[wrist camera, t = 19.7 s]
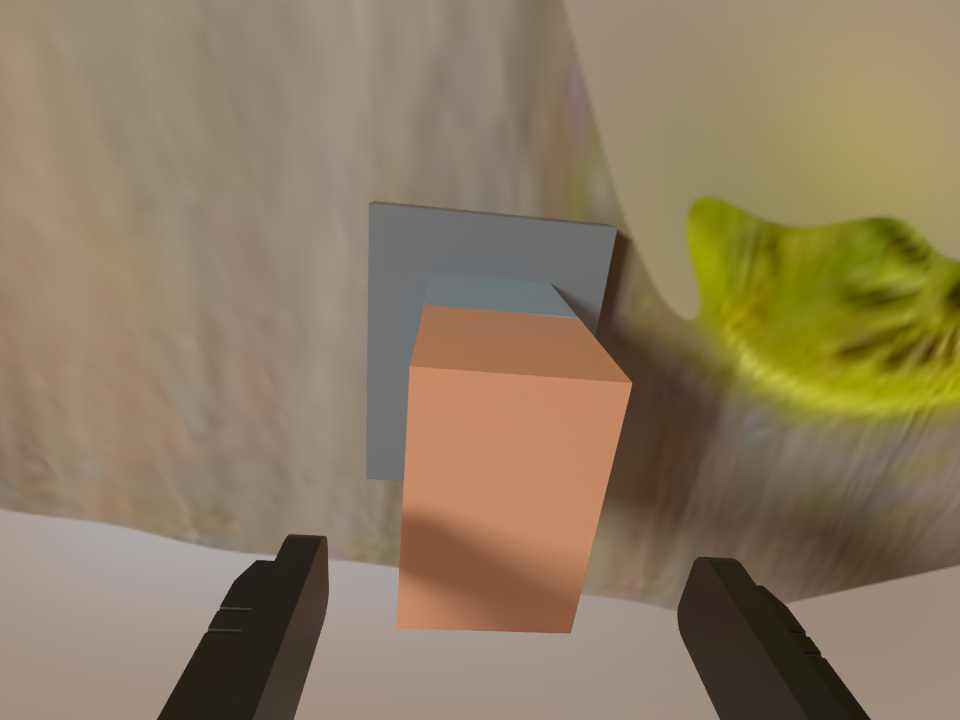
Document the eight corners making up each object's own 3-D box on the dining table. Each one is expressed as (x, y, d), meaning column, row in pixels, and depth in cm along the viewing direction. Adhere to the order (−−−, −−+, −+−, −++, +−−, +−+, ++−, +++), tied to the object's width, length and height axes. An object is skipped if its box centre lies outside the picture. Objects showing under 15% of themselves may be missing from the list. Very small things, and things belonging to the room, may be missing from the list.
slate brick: (549, 282, 20) (578, 317, 15) (524, 444, 23) (542, 514, 18) (431, 272, 19) (423, 305, 15) (421, 438, 22) (412, 508, 18)
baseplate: (608, 224, 20) (617, 227, 19) (559, 475, 25) (564, 489, 24) (374, 201, 19) (369, 203, 18) (370, 464, 24) (366, 478, 23)
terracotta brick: (578, 318, 15) (632, 383, 11) (541, 514, 18) (570, 633, 14) (424, 304, 15) (409, 366, 10) (412, 508, 18) (396, 628, 13)
